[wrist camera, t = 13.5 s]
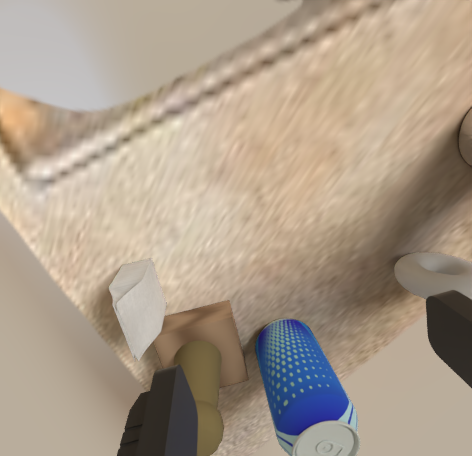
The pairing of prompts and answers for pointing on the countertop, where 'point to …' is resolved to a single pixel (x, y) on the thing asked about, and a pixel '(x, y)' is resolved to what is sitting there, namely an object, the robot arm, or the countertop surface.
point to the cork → (204, 390)
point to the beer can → (305, 393)
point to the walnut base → (205, 338)
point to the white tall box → (138, 304)
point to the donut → (434, 274)
